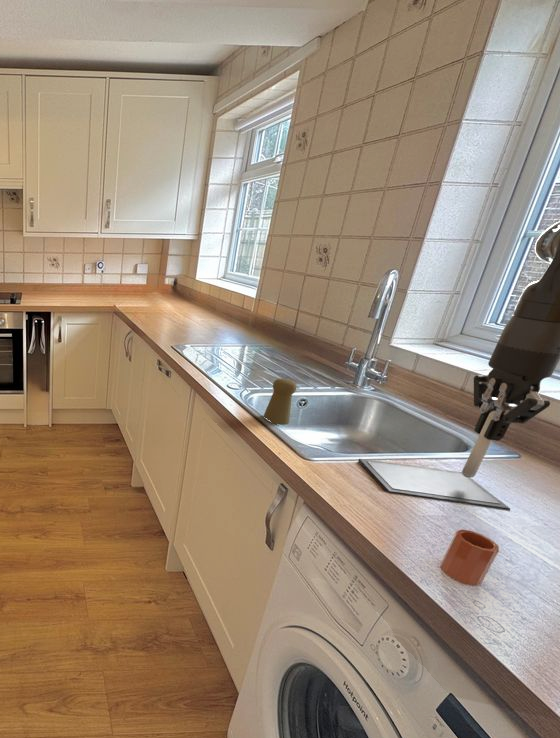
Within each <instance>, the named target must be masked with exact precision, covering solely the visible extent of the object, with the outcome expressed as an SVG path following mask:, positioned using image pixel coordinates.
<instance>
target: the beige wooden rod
mask: <svg viewBox="0 0 560 738" xmlns="http://www.w3.org/2000/svg"><path fill="white" fill-rule="evenodd" d="M494 413H495V411H492V412H490V413H489V415H488V417H487V420H486V422H485V424H484V426H483V428H482V430H481V432H480V434H478V436H477V439H476V441H475V443H474V444H473V447H472V449H471V452H470V453H469V456H468V458H467V460H466V462H465V464H464V467H463V468H462V470H461V472H462V474H463V475H464V476H465V477H469V478H471V479H472V478H473V477H475V476H476V475H477V472H478V470H479V468H480V466H481V465H482V462H483V460H484V458H485V456H486V454H487V452H488V450H489V448H490V446H491V444H492V442H493V440H488V439H486V438H485V437H484V434H485V432H486V430H487V428H488V426H489V424H490V422H491V420H492V419H493V416H494Z"/></svg>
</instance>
